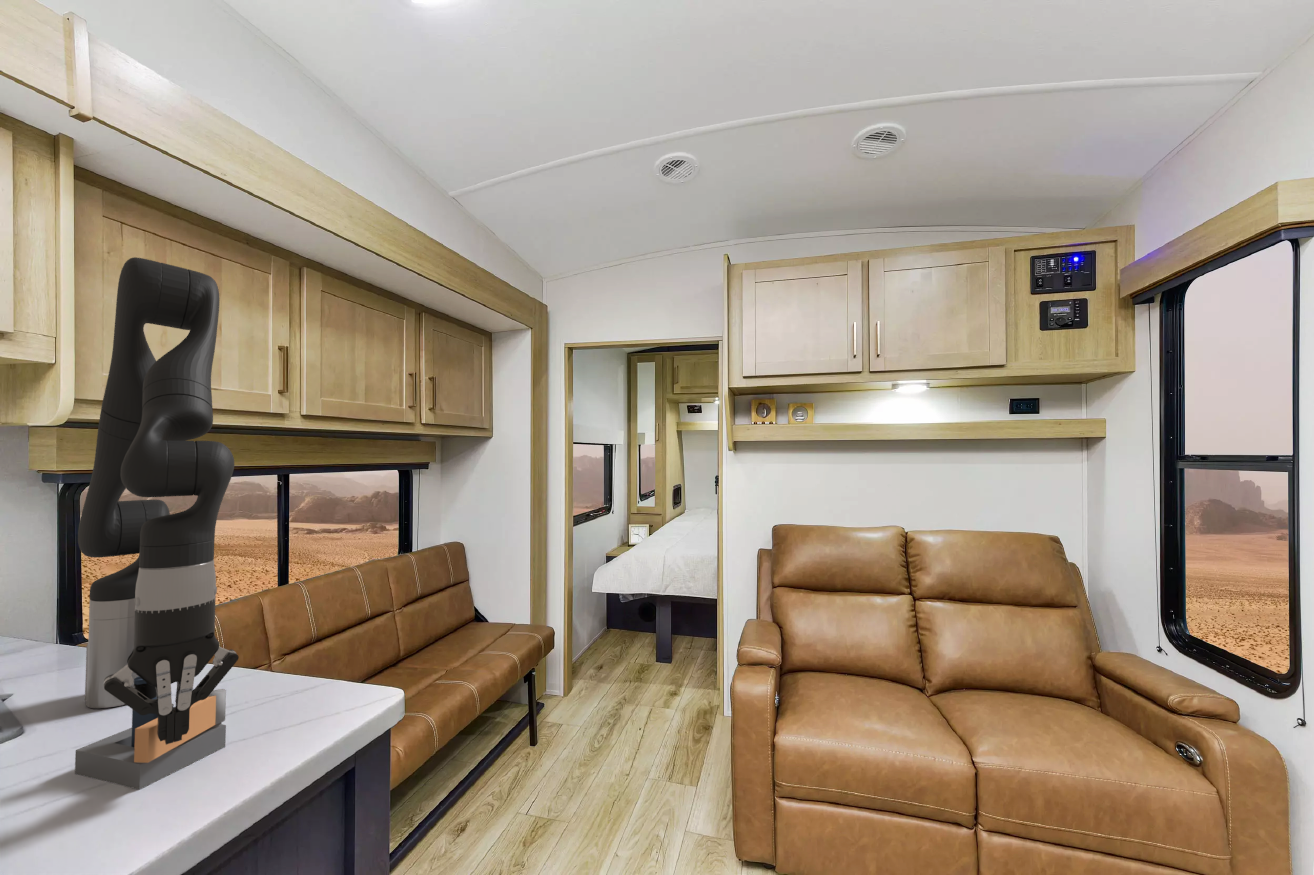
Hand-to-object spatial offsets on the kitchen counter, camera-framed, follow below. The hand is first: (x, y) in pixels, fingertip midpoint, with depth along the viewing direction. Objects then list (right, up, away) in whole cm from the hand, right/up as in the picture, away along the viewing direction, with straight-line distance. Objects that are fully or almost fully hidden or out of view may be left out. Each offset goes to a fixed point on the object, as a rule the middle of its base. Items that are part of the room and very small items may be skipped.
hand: (172, 740), depth 66 cm
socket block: (-8, -6, +6) cm, 11 cm away
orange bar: (-2, -2, +4) cm, 5 cm away
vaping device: (-7, -6, +5) cm, 11 cm away
